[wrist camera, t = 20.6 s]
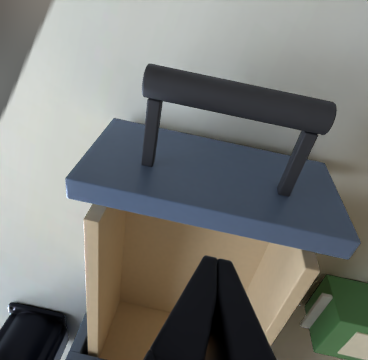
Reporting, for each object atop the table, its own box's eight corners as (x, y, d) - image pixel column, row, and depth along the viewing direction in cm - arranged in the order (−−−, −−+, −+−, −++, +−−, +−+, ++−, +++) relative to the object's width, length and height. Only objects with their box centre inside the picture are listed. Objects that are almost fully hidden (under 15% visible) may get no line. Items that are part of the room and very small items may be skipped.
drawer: (116, 33, 16) (56, 66, 11) (364, 84, 16) (432, 146, 11) (107, 292, 30) (78, 365, 24) (243, 322, 30) (244, 403, 24)
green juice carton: (421, 294, 26) (450, 346, 22) (389, 325, 28) (411, 376, 25) (317, 272, 26) (329, 319, 22) (295, 304, 29) (304, 351, 25)
